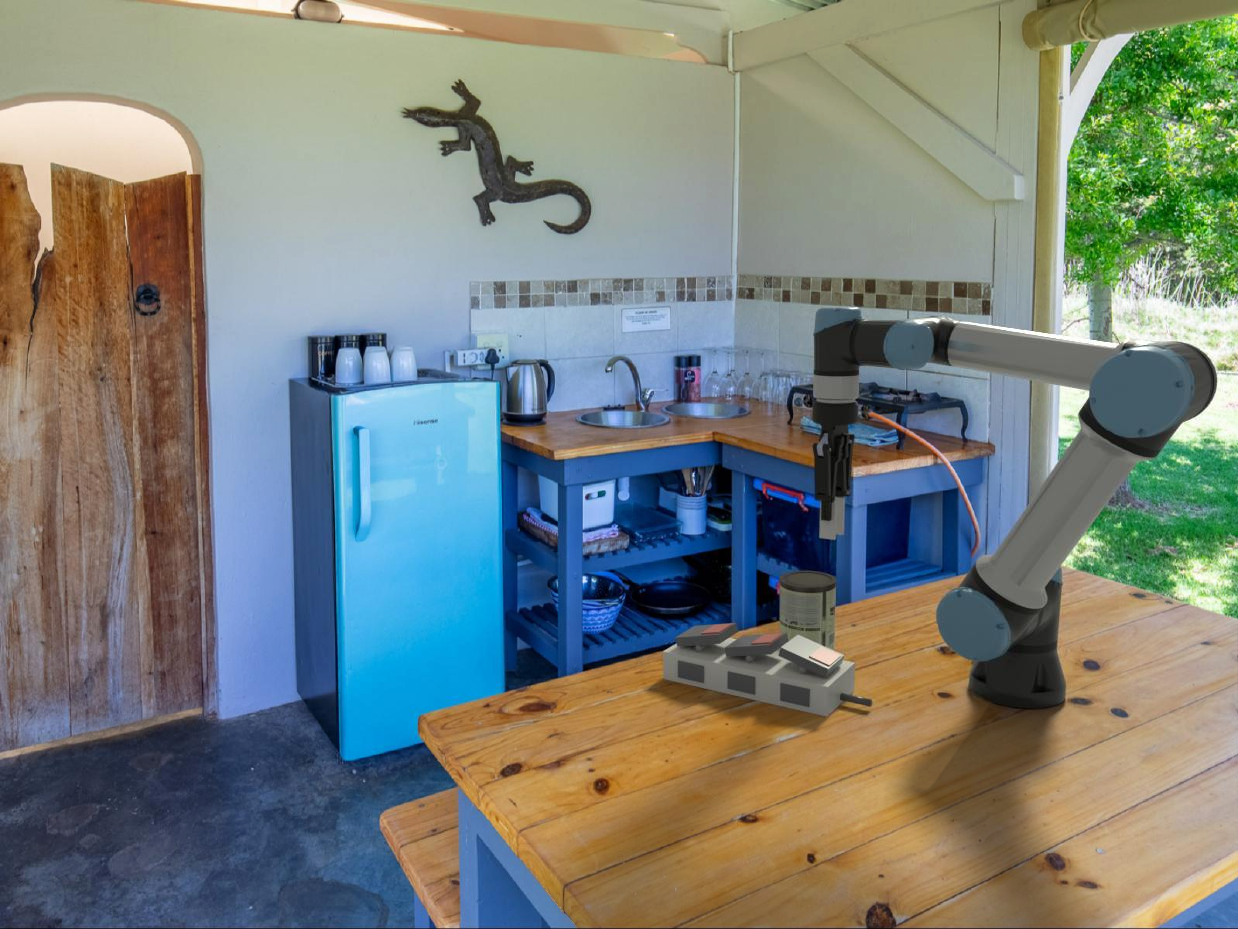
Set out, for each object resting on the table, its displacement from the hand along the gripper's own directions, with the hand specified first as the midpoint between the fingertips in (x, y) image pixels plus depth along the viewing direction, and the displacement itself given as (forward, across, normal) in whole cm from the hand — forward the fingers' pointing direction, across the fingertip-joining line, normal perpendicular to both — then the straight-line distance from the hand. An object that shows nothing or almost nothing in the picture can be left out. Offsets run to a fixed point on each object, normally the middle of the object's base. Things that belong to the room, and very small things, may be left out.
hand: (831, 535), depth 181 cm
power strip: (+25, +12, -6) cm, 28 cm away
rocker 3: (+18, +12, +2) cm, 22 cm away
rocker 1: (+18, +12, -18) cm, 28 cm away
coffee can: (+25, -7, -7) cm, 27 cm away
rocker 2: (+18, +12, -8) cm, 23 cm away
